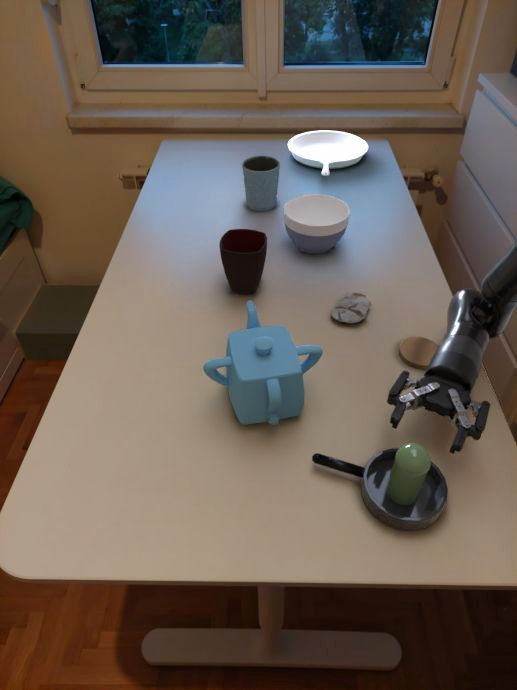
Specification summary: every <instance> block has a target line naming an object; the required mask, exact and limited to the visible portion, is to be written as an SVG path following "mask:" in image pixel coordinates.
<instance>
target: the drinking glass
mask: <svg viewBox="0 0 517 690" xmlns="http://www.w3.org/2000/svg"><path fill="white" fill-rule="evenodd" d="M280 166H281V162H280V160H279V159H277V158H276V157H273V156H270V155H254V156H253V155H252V156H250V157H247V158H245V159H244V160H243V161H242V163H241V167H242V174H243V182H244V184H243V185H244V193H245V202H246V207H248V209H249V210H253V211H255V212H267V211H270V210H273V209H274V208H275V207H277V203H278V197H277V196H278V191H279V190H278V188H279V177H280V168H281V167H280Z"/></svg>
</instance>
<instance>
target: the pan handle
mask: <svg viewBox="0 0 517 690" xmlns="http://www.w3.org/2000/svg"><path fill="white" fill-rule="evenodd" d="M311 461H312V462H313V463H314V464H316V465H319V466H321V467H325V468H329V469H332V470H335V471H338V472H342V473H344V474H348V475H350V476H354V477H357V478H362V479H363V474H364V471H365V466H361V465H359V464H355V463H351V462H348V461H344V460H341V459H338V458H335V457H332V456H327V455H326V454H322V453H319V452H318V453H317V452H315V453H313V455H312V457H311Z"/></svg>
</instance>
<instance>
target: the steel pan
mask: <svg viewBox="0 0 517 690" xmlns="http://www.w3.org/2000/svg"><path fill="white" fill-rule="evenodd" d="M399 448H400V447H396V448H395V447H392V448H388V449H383V450H381V451H379V452H377V453H376V454H374V455H372V456H371V457H370V459H369V460H368V461H367V463H366V464H365V466H364V468H365V471H364V474H363V478H362V479H361V483H360V485H361V486H360V491H361V497H362V500H363V502H364V504H365V506H366V508H367V510H369V512H370V513H371V514H372V515H373V516H374V517H375V518H376V519H377V520H378V521H380V522H381V523H383V525H386V526H388V527H391V528H392V529H395V530H399V531H405V532H414V531H421V530H424V529H426V528H428V527H430V526H431V525H433V524H434V523H435V522H436V521H437V520H438V518H439V517H440V515H441V514H442V512H443V510H444V507H445V506H446V504H447V501H448V493H449V489H448V485H447V481H446V478H445V476H444V474H443V473H442V471H441V469H440V468H439V467H438V465H436V464H435V463H434V462H433V461H432V460H431V466H430V469H429V472H428V474H427V477H426V479H425V482H424V484H423V487H422V489H421V492H420V494H419V497H418V499H417V501H416V502H415V503H413V504H411V505H399V504H397V503H395V502H394V501H392V500H391V499H390V498H389V496H388V495H387V492H386V485H387V481H388V478H389V475H390V472H391V468H392V465H393V462H394V459H395V455H396V453H397V451H398V449H399Z"/></svg>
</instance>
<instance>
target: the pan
mask: <svg viewBox="0 0 517 690" xmlns="http://www.w3.org/2000/svg"><path fill="white" fill-rule="evenodd" d="M287 148H288V150H289V152H291V155H292V157H293V158H294V159H295V160H296V161H297V162H298V163H300V164H302V165H305V166H308V167H312V168H315V169H321V170H322V171H321V176H323V177H328V176H330V173H331V172H330V170H338V169H344V168H348V167H351V166H354V165H356V164H357V163H358V162H360V161H361V160H362V159H363V156H365V154H367V153H368V151H369V145H368V142H366V140H365V139H363V138H361V137H359V136H357V135H355V134H353V133H350V132H349V133H348V132H345V131H338V130H326V129H325V130H323V129H322V130H321V129H320V130H311V131H306V132H302V133H299V134H296V135H294V136H293V137H292V138H290V139H289V140H288V142H287Z"/></svg>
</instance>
